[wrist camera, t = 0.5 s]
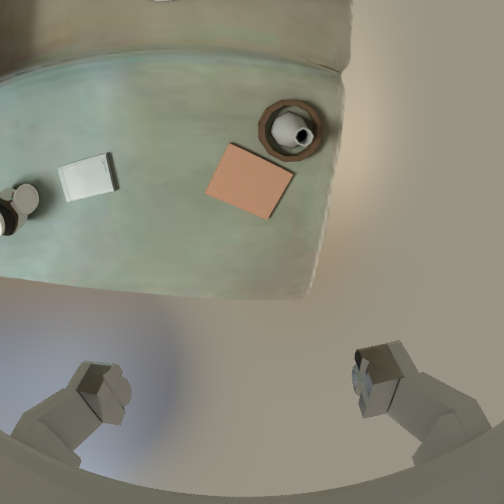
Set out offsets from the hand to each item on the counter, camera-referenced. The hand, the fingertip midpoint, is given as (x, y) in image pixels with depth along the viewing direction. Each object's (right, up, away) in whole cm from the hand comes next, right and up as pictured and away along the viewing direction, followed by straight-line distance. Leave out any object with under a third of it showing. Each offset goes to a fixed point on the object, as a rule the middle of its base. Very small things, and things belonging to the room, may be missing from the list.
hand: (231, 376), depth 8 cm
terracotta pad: (0, +18, +46) cm, 49 cm away
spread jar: (-54, +17, +40) cm, 69 cm away
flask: (+8, +28, +41) cm, 50 cm away
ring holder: (+8, +27, +41) cm, 50 cm away
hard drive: (-34, +20, +41) cm, 57 cm away
